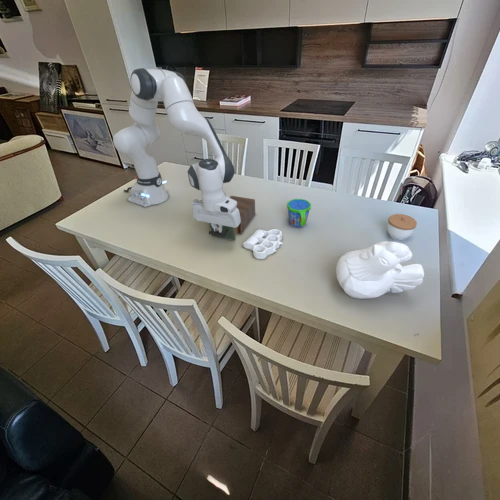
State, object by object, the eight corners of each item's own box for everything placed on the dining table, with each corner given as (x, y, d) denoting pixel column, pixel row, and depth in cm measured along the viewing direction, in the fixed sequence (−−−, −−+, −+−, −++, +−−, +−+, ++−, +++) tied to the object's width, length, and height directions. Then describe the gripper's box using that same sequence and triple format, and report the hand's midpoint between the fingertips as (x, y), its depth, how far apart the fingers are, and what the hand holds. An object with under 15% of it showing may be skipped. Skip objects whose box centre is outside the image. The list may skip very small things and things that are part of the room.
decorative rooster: (322, 282, 92) (386, 255, 72) (334, 248, 101) (394, 216, 80) (376, 323, 96) (450, 309, 76) (382, 287, 105) (451, 265, 85)
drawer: (229, 247, 118) (228, 234, 113) (205, 241, 121) (203, 229, 117) (248, 220, 133) (247, 208, 129) (227, 216, 136) (225, 204, 132)
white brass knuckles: (260, 230, 128) (289, 239, 122) (238, 251, 116) (269, 263, 110) (260, 223, 126) (289, 233, 119) (238, 245, 114) (269, 256, 108)
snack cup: (284, 214, 137) (285, 196, 131) (305, 213, 137) (307, 195, 131) (288, 233, 125) (289, 214, 119) (312, 232, 125) (314, 212, 119)
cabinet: (241, 234, 126) (240, 218, 121) (216, 229, 130) (214, 213, 125) (255, 214, 138) (254, 199, 133) (232, 210, 142) (231, 195, 137)
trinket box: (409, 230, 123) (417, 212, 117) (412, 245, 115) (419, 226, 109) (383, 227, 126) (389, 209, 120) (384, 240, 118) (390, 222, 112)
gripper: (187, 202, 110) (193, 231, 118) (234, 210, 103) (237, 240, 112) (195, 195, 114) (200, 223, 123) (240, 202, 107) (243, 231, 116)
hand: (218, 231), depth 117 cm, fingers closed, pressing on drawer
